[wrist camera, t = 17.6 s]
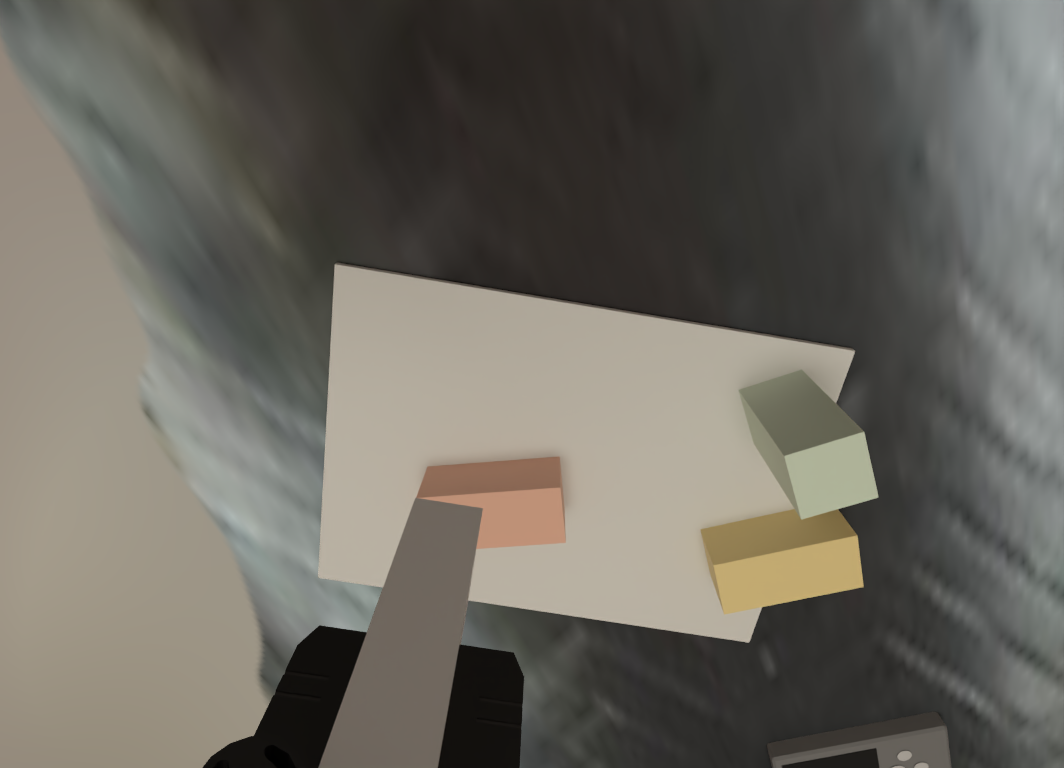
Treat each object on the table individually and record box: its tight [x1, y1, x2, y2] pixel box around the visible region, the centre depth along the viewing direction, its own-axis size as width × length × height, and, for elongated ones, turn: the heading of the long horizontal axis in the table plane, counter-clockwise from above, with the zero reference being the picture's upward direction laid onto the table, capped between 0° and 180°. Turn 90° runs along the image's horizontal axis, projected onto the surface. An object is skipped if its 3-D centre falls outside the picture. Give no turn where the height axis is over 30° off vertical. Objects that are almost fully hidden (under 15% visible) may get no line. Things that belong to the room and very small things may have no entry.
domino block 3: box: [700, 509, 864, 615], centre depth 50 cm, size 4×5×10 cm
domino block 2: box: [738, 370, 878, 520], centre depth 43 cm, size 4×5×10 cm
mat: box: [318, 263, 855, 642], centre depth 50 cm, size 36×26×1 cm
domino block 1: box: [416, 456, 566, 549], centre depth 49 cm, size 4×5×10 cm
